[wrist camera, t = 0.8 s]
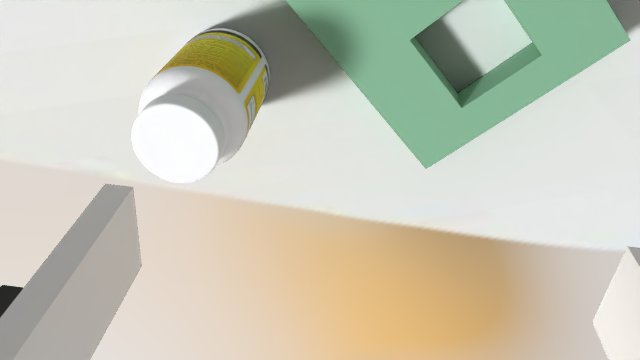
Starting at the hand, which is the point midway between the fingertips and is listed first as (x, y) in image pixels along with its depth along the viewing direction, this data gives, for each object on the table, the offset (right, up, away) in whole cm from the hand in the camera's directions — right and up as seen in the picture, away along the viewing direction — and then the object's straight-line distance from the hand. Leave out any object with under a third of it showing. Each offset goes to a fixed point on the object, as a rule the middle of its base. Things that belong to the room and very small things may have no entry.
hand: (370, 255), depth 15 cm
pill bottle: (-8, +10, +23) cm, 26 cm away
